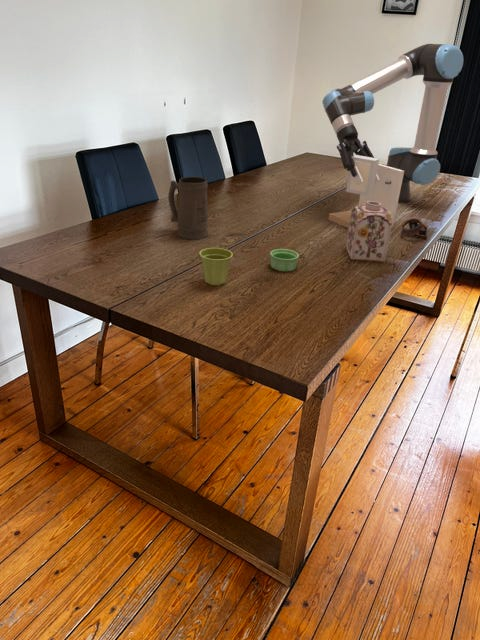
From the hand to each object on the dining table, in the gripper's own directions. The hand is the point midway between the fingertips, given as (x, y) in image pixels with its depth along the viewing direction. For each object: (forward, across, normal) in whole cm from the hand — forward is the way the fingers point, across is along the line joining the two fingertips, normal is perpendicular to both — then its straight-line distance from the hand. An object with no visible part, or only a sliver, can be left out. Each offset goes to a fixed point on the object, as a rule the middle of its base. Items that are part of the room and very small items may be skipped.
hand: (368, 182), depth 193 cm
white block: (+1, 0, -6) cm, 6 cm away
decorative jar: (+28, +20, +3) cm, 34 cm away
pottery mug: (+24, -12, -1) cm, 27 cm away
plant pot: (+25, +77, 0) cm, 81 cm away
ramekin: (+25, +52, 0) cm, 58 cm away
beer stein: (-3, +65, -29) cm, 71 cm away
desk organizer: (+9, -4, -16) cm, 19 cm away
